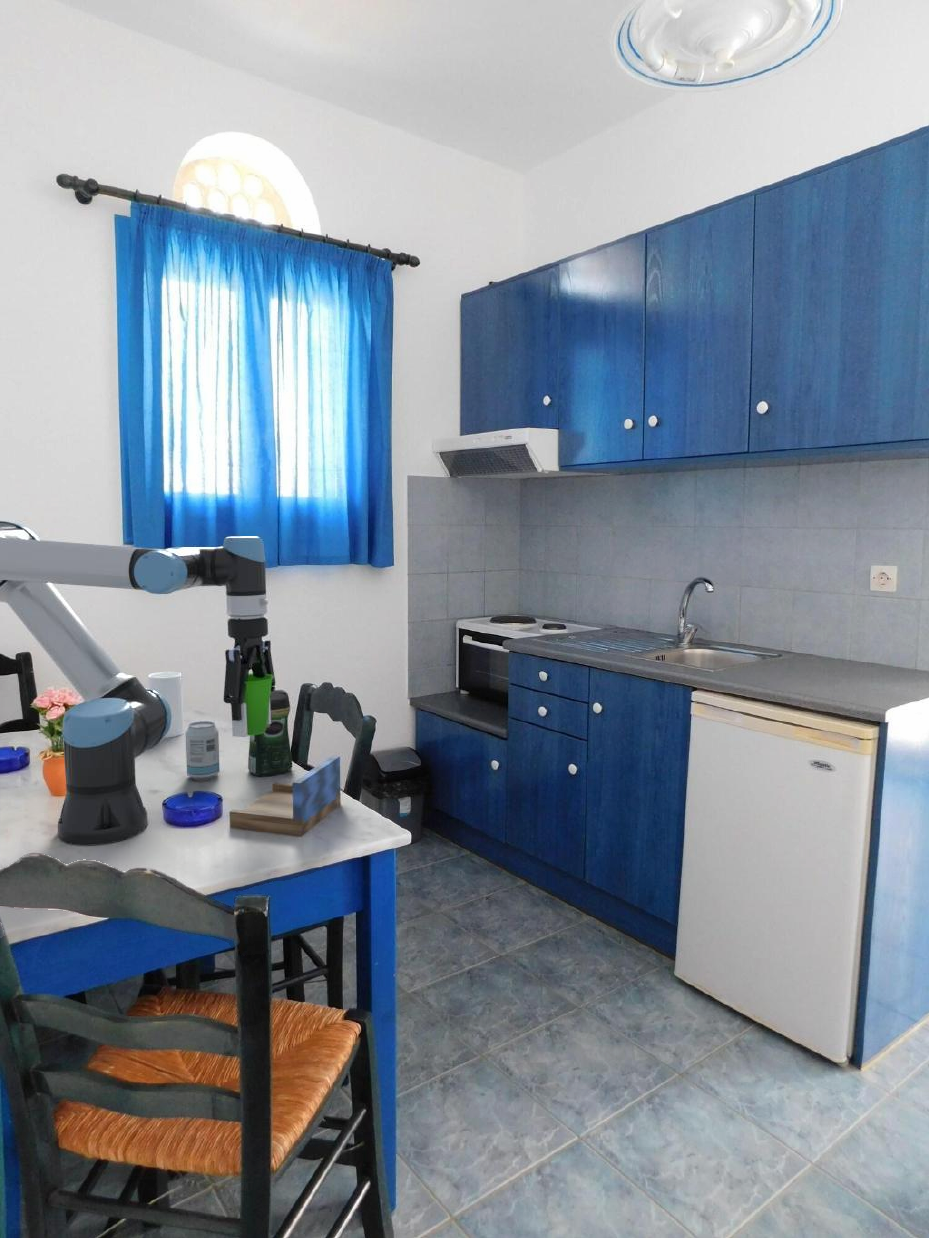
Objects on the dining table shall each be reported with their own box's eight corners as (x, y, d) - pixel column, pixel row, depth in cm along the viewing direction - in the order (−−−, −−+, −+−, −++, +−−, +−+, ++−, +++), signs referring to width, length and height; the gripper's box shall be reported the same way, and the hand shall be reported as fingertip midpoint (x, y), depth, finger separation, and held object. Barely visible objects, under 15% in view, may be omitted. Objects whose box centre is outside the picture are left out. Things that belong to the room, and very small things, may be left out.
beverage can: (218, 770, 184) (217, 719, 182) (220, 780, 177) (219, 726, 176) (186, 773, 181) (184, 721, 180) (187, 783, 175) (185, 729, 173)
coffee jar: (285, 763, 190) (283, 685, 187) (296, 772, 183) (294, 692, 180) (244, 769, 185) (241, 690, 182) (253, 779, 178) (251, 696, 176)
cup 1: (178, 728, 221) (176, 670, 219) (187, 734, 214) (185, 675, 212) (147, 732, 216) (144, 673, 214) (154, 739, 209) (152, 678, 207)
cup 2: (270, 738, 155) (268, 681, 153) (223, 738, 154) (220, 682, 153) (280, 726, 164) (278, 672, 162) (235, 726, 163) (233, 673, 162)
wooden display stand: (301, 836, 146) (300, 783, 145) (230, 827, 150) (228, 775, 149) (340, 804, 163) (339, 756, 162) (275, 797, 167) (274, 750, 165)
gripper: (236, 623, 145) (242, 745, 148) (290, 610, 166) (294, 717, 169) (199, 623, 147) (205, 743, 149) (256, 609, 168) (261, 715, 170)
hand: (252, 729), depth 159 cm, fingers closed on cup 2, 9 cm apart
